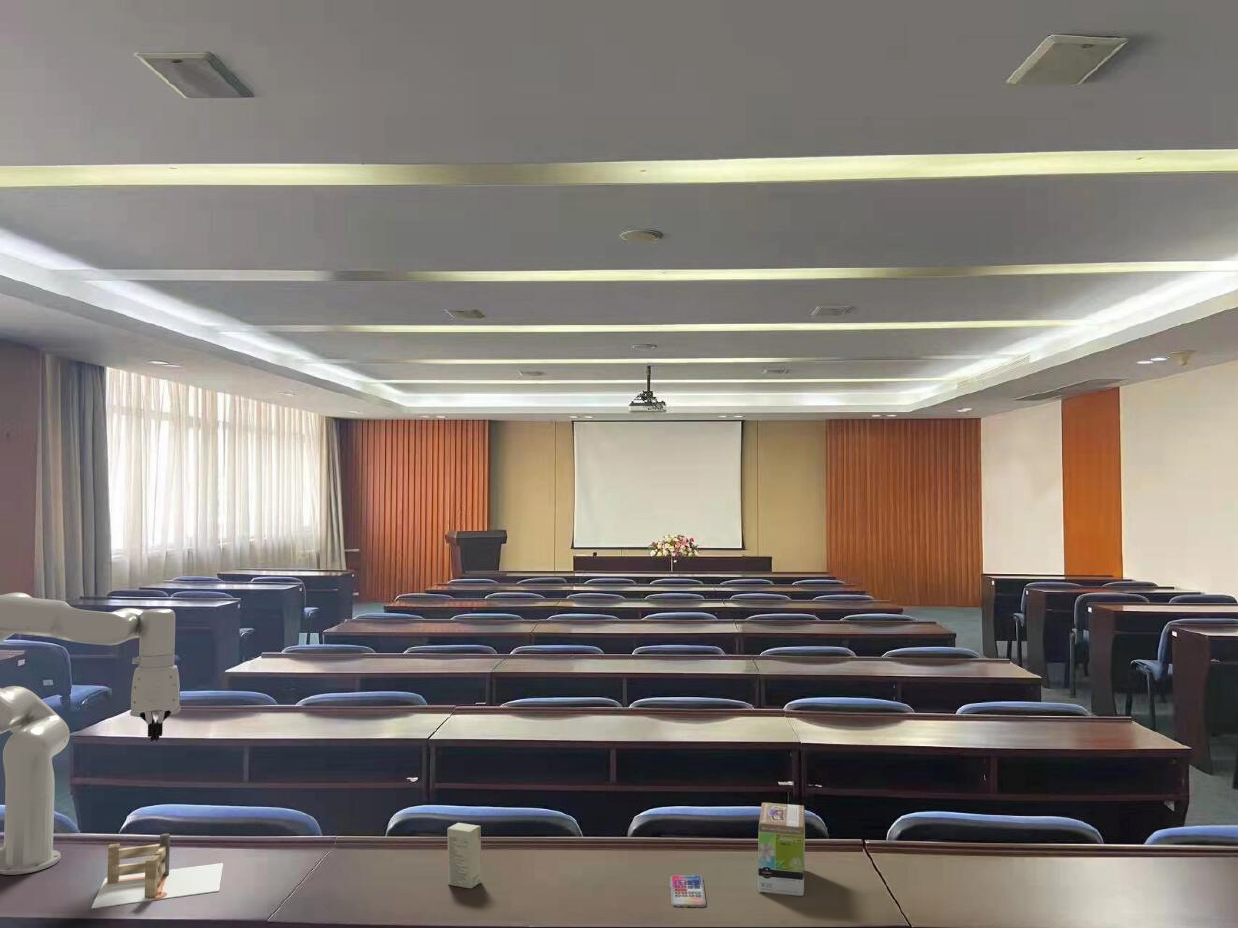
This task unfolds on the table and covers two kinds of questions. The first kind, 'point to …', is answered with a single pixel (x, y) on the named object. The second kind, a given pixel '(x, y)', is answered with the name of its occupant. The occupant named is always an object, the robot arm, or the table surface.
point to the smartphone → (687, 891)
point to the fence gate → (154, 872)
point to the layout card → (161, 886)
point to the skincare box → (464, 855)
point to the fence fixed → (133, 852)
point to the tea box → (781, 849)
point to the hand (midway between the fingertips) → (154, 739)
